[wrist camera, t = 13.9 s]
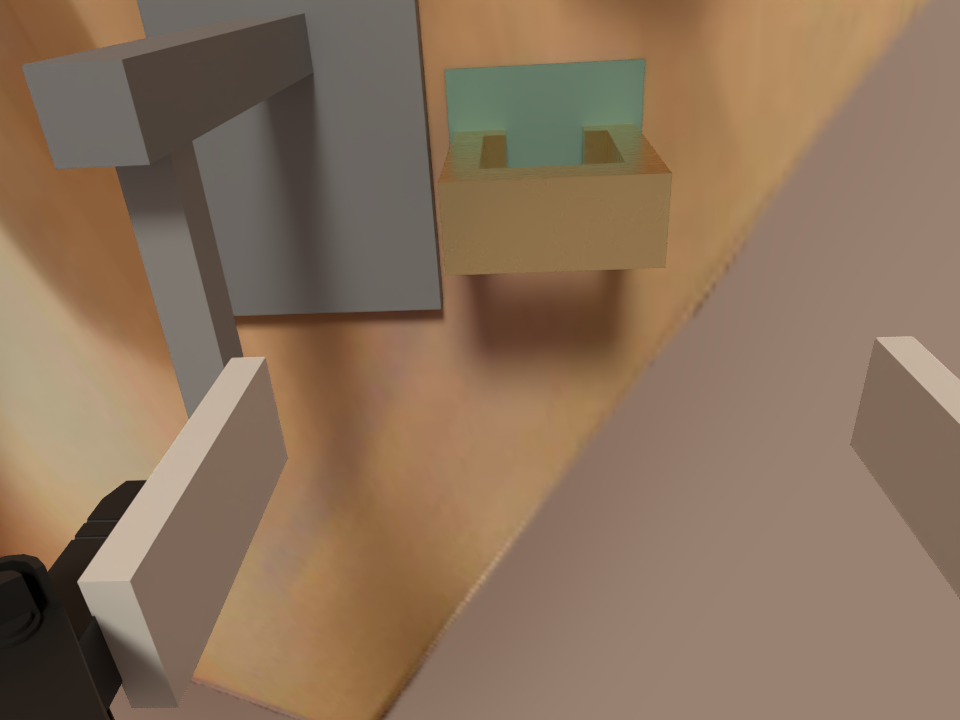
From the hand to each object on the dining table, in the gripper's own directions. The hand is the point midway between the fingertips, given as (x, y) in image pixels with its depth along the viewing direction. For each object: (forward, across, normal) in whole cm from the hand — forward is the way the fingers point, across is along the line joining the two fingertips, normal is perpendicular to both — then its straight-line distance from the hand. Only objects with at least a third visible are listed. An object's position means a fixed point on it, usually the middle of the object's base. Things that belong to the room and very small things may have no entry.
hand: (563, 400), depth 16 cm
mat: (+22, +1, 0) cm, 22 cm away
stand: (+22, -11, +1) cm, 24 cm away
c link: (+21, +1, 0) cm, 21 cm away
